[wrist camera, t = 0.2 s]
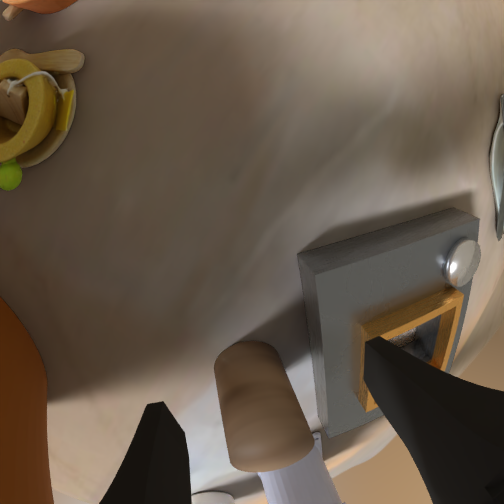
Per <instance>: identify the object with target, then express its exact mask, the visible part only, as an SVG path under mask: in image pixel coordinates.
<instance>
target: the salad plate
mask: <svg viewBox="0 0 504 504" xmlns="http://www.w3.org/2000/svg"><path fill="white" fill-rule="evenodd" d="M490 176H491V181H492V187H493V194H494V202H495V211H496V230H497V238H498V241H500V239H501V238H502V234H504V94H502V95H501V98H500V117H499V120H498V124H497V127H496V130H495V132H494V136H493V141H492V147H491V151H490Z"/></svg>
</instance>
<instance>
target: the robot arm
mask: <svg viewBox="0 0 504 504" xmlns="http://www.w3.org/2000/svg"><path fill="white" fill-rule="evenodd" d="M363 380H364V382H365V384H366V386H367V388H368V390H369V392H370V393H371V395H372V397H373V399H374V401H375V402H376V404H377V405H378V407H379V408H380V410H381V411H382V412H383V414H384V415H385V417H386V418H387V420H388V421H389V422H390V424H391V425H392V427H393V428H394V429H395V431H396V432H397V434H398V435H399V436H400V438H401V439H402V441H403V442H404V444H405V445H406V447H407V448H408V450H409V452H410V454H411V456H412V458H413V460H414V462H415V464H416V466H417V468H418V470H419V472H420V474H421V476H422V478H423V480H424V483H425V485H426V487H427V490H428V492H429V494H430V497H431V499H432V502H433V504H504V391H499V390H495V389H491V388H487V387H483V386H480V385H476V384H474V383H471V382H468V381H465V380H463V379H460V378H458V377H455V376H453V375H451V374H448V373H446V372H444V371H442V370H440V369H438V368H436V367H434V366H432V365H430V364H428V363H426V362H424V361H422V360H420V359H419V358H417V357H415V356H413V355H411V354H410V353H408V352H406V351H404V350H403V349H401V348H399V347H398V346H396V345H394V344H393V343H391V342H389V341H387V340H386V339H384V338H382V337H381V336H378V337H376V338H373V339H371V340H368V341H366V342H365V352H364V374H363ZM312 435H313V437H314V440H315V444H314V447H313V449H312V450H311V451H310V452H309V454H307V455H306V456H305V457H304V458H302V459H301V460H299V461H298V462H296V463H294V464H292V465H290V466H287V467H284V468H281V469H278V470H274V471H268V472H257V473H258V475H259V477H260V479H261V480H262V483H263V487H264V491H265V494H266V498H267V501H268V504H346V503H345V502H344V503H342V502H341V499H340V497H339V495H338V493H337V490H336V488H335V486H334V484H333V481H332V479H331V477H330V474H329V472H328V470H327V468H326V465H325V463H324V461H323V457H322V443H321V434H320V432H315V433H312ZM99 504H192V499H191V484H190V467H189V455H188V449H187V443H186V437H185V432H184V431H183V429H182V428H181V427H180V425H179V424H178V422H177V421H176V419H175V418H174V416H173V415H172V414H171V412H170V411H169V409H168V408H167V406H166V404H165V403H164V401H162V402H157V403H151V404H147V406H146V408H145V410H144V413H143V415H142V418H141V420H140V423H139V425H138V428H137V430H136V433H135V435H134V437H133V440H132V442H131V444H130V447H129V449H128V451H127V453H126V456H125V458H124V460H123V462H122V464H121V466H120V468H119V470H118V472H117V474H116V476H115V478H114V480H113V482H112V484H111V485H110V487H109V489H108V490H107V492H106V494H105V495H104V497H103V499H102V500H101V502H100V503H99Z"/></svg>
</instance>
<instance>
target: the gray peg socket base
mask: <svg viewBox="0 0 504 504" xmlns="http://www.w3.org/2000/svg"><path fill="white" fill-rule="evenodd" d="M479 220H480V219H479V218H477V217H475V216H473V215H470V214H468V213H466V212H463V211H461V210H458V209H456V208H450V209H447V210H444V211H441V212H437V213H434V214H431V215H428V216H424V217H421V218H418V219H414V220H411V221H408V222H405V223H401V224H398V225H395V226H391V227H388V228H385V229H381V230H378V231H375V232H371V233H368V234H364V235H361V236H358V237H354V238H351V239H347V240H344V241H341V242H337V243H334V244H330V245H327V246H323V247H320V248H317V249H313V250H310V251H306V252H303V253H299V254H297V256H298V262H299V269H300V275H301V282H302V289H303V296H304V303H305V310H306V317H307V324H308V332H309V340H310V348H311V356H312V364H313V373H314V382H315V391H316V400H317V410H318V417H319V419H320V421H321V423H322V426H323V428H324V430H325V432H326V434H327V436H328V438H332V437H334V436H337V435H339V434H342V433H344V432H347V431H349V430H352V429H354V428H356V427H359V426H361V425H363V424H366V423H368V422H370V421H372V420H374V419H376V418H379V417H381V416H383V415H384V414H383V412H382V411H381V410H380V408H379V407H378V405H377V404H376V402H375V401H374V399H373V397H372V395H371V393H370V392H369V390H368V388H367V386H366V384H365V382H364V380H363V374H364V352H365V342H366V341H368V340H371V339H373V338H376V337H378V336H381V337H382V338H384V339H386V340H389V339H391V338H393V337H396V336H398V335H400V334H402V333H404V332H406V331H408V330H410V329H413V328H415V327H416V333H415V340H414V341H413V342H411V343H409V344H407V345H405V346H403V347H401V349H403V350H404V351H406V352H408V353H410V354H411V355H413V356H415V357H417V358H419V359H420V360H422V361H424V362H426V363H428V364H430V365H432V366H434V367H436V368H438V369H440V370H442V371H444V372H446V373H448V374H449V371H450V368H451V365H452V362H453V359H454V356H455V352H456V349H457V345H458V342H459V338H460V334H461V331H462V327H463V323H464V318H465V314H466V310H467V305H468V300H469V295H470V290H471V285H472V279H473V276H474V274H475V272H476V270H477V268H478V265H479V262H480V257H481V250H480V246H479V244H478V243H477V242H478V232H479Z"/></svg>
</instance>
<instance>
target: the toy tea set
mask: <svg viewBox="0 0 504 504" xmlns="http://www.w3.org/2000/svg"><path fill="white" fill-rule="evenodd" d="M2 1H3V2H5V3H7V4H10V5H9V6H8V7H7V8H6V9H5V10H4V12H3V17H4V18H5V19H6V20H7V21H11V20H12V19H14V18H15V17H16V16H17V15H18V14H19V13H20V12H21V11H23V10H24V9H27V10H30V11H33V12H36V13H40V14H50V13H55V12H58V11H61V10H63V9H65V8H67V7H68V6H70V5H71V4H73V3H74V2H76V1H77V0H2ZM84 61H85V57H84V55H83V53H81V52H79V51H77V50H75V49H62V50H54V51H47V52H42V53H36V54H28V53H26V52H24V51H22V50H20V49H15V48H14V49H10V50H8V51H6V52H4V53H3V54H2V55H1V56H0V162H1V163H2V164H1V166H0V188H2V189H3V190H7V191H9V190H13V189H15V188H16V187H18V185H19V184H20V182H21V180H22V170H21V168H25V167H30V166H33V165H36V164H38V163H40V162H42V161H44V160H45V159H47V158H48V157H49V156H51V155H52V154H53V153H54V152H55V151H56V150H57V149H58V147H59V146H60V145H61V144H62V142H63V141H64V139H65V137H66V136H67V134H68V132H69V129H70V127H71V125H72V122H73V119H74V114H75V109H76V88H75V84H74V80H73V77H72V75H71V73H75V72H77V71H79V70H80V69H81V68H82V67H83V64H84Z"/></svg>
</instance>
